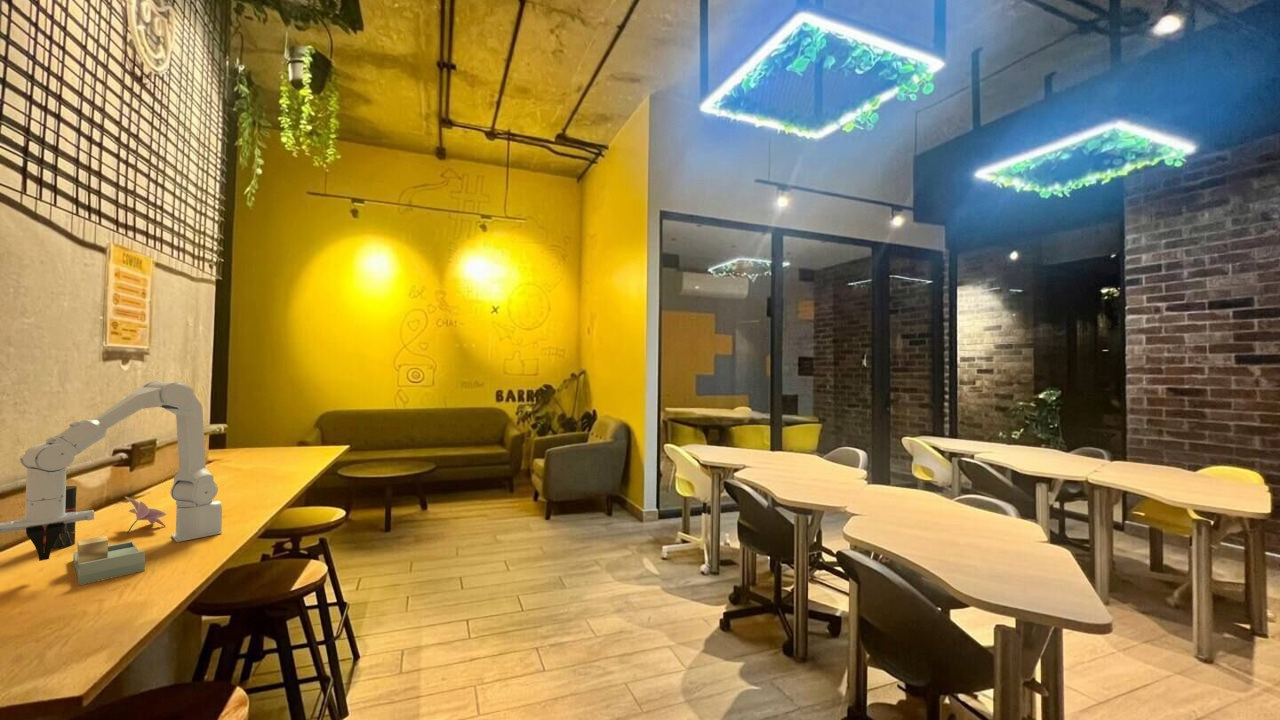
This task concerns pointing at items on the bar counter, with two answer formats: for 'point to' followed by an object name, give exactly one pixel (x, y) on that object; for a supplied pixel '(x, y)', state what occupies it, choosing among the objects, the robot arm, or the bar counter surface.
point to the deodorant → (68, 532)
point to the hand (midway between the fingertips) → (44, 559)
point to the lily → (145, 513)
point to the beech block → (92, 549)
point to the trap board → (111, 563)
